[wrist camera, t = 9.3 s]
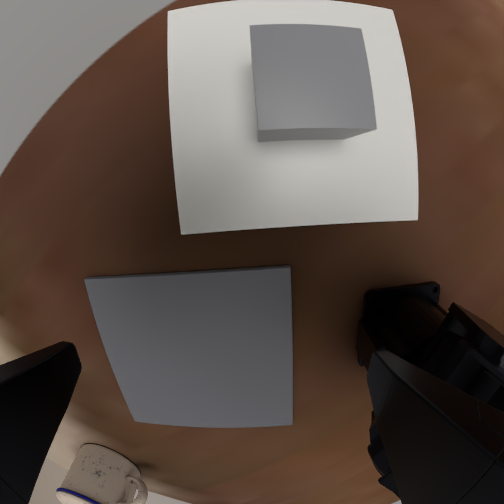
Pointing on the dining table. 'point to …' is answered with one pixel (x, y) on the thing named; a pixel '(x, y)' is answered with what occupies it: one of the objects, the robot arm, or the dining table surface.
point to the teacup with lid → (101, 479)
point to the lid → (289, 115)
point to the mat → (200, 345)
